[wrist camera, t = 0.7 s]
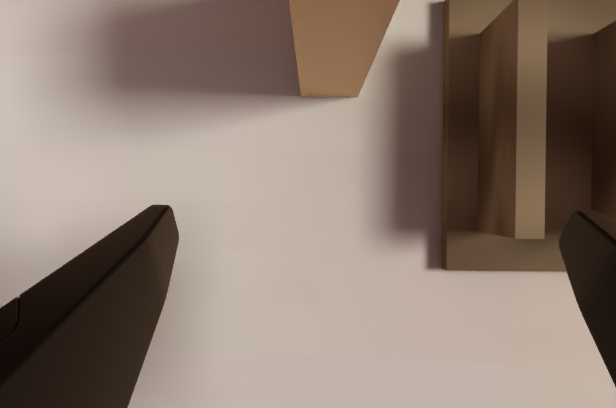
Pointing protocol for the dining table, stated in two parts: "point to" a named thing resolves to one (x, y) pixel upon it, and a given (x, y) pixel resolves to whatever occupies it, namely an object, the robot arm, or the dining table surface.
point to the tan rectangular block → (337, 43)
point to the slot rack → (525, 128)
